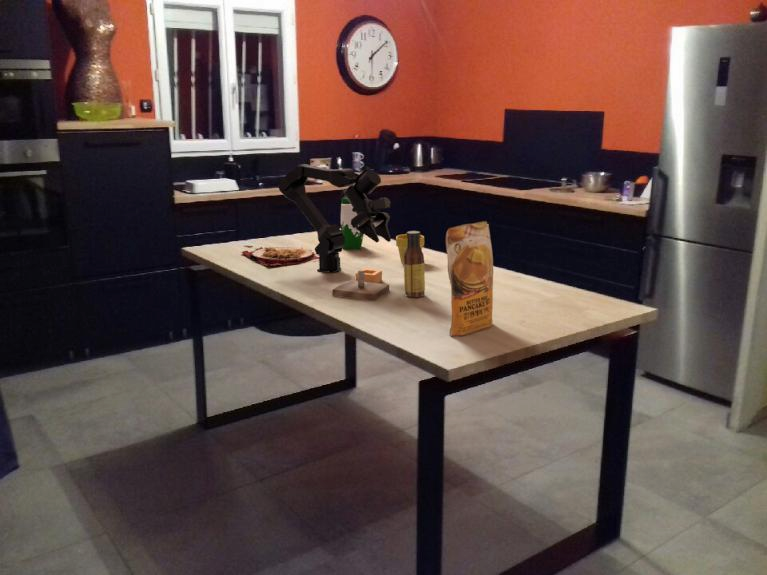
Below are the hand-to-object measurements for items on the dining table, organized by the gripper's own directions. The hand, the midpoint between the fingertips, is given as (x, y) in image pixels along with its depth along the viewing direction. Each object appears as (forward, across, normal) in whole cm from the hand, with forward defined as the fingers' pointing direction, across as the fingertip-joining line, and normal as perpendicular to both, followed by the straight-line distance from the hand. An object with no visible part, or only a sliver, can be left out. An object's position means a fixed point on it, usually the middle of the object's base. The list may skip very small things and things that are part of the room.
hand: (383, 241), depth 227 cm
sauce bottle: (+22, -9, -2) cm, 24 cm away
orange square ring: (+8, -1, +12) cm, 14 cm away
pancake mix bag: (+40, -32, -20) cm, 55 cm away
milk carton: (-16, +43, +30) cm, 55 cm away
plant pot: (+5, +30, +7) cm, 31 cm away
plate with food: (-22, +18, +45) cm, 53 cm away
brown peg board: (+12, -14, +10) cm, 21 cm away
